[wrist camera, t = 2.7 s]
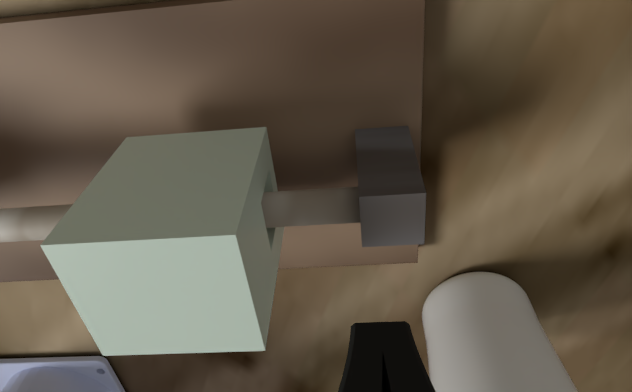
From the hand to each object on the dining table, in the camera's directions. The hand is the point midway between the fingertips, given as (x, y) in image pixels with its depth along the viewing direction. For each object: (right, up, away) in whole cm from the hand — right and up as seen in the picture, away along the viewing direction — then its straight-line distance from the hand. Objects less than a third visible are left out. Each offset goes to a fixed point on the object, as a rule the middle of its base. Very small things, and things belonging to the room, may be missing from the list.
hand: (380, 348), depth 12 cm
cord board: (-11, +5, +8) cm, 15 cm away
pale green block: (-6, +4, +6) cm, 9 cm away
